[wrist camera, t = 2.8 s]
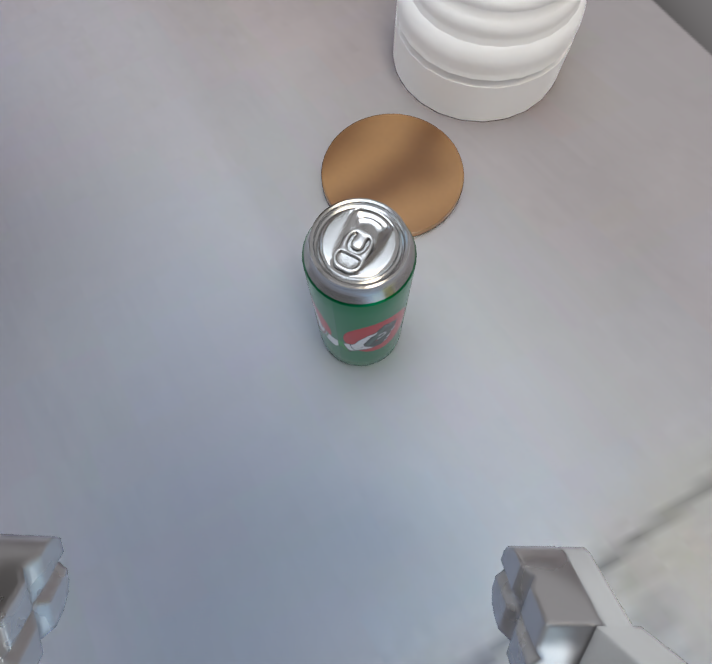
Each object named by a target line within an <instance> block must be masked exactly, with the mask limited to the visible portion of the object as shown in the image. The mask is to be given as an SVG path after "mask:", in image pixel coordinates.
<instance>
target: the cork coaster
mask: <svg viewBox="0 0 712 664" xmlns="http://www.w3.org/2000/svg"><path fill="white" fill-rule="evenodd" d="M321 174H322V185H323V191H324V194H325V197H326V199H327V201H328V203H329V205H330V206H331V205H333V204H335V203H337V202H340V201H343V200H346V199H351V198H368V199H372V200H376V201H379V202H382V203H384V204H385V205H387V206H389V207H390V208H392V209H393V210H394V211H395V212H396V213H397V214H398V215H399V216H400V217H401V218H402V220H403V221H404V223H405V224H406V226H407V227H408V229H409V230H410V232H411V234H412V236H413V237H414V236H417V235H420V234H423V233H425V232H427V231H429V230H431V229H433V228H434V227H436V226H437V225H439V224H440V223H441V222H443V221H444V220H445V219H446V218H447V217H448V216H449V215H450V213H451V212H452V210H453V209H454V208H455V206H456V204H457V202H458V200H459V197H460V194H461V191H462V187H463V181H464V171H463V164H462V161H461V157H460V155H459V153H458V151H457V149H456V147H455V146H454V144H453V143H452V141H451V140H450V139H449V138H448V137H447V136H446V135H445V134H444V133H443V132H442V131H441V130H439V129H438V128H437V127H435V126H434V125H432V124H430V123H428V122H426V121H424V120H422V119H419V118H416V117H412V116H408V115H402V114H382V115H375V116H371V117H368V118H365V119H362V120H360V121H357V122H355V123H354V124H352V125H350V126H349V127H347V128H346V129H344V130H343V131H342V132H341V133H340V134H339V135H338V136H337V137H336V138H335V139H334V140H333V142H332V143H331V145H330V146H329V148H328V150H327V152H326V154H325V156H324V160H323V164H322V171H321Z"/></svg>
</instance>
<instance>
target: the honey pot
mask: <svg viewBox="0 0 712 664" xmlns="http://www.w3.org/2000/svg"><path fill="white" fill-rule="evenodd" d="M586 3H587V2H586V0H397V7H396V19H395V33H394V48H393V58H394V63H395V67H396V71H397V74H398V76H399V77H400V79H401V81H402V82H403V84H404V86H405V87H406V89H407V90H408V91H409V92H410V93H411V94H412V95H413V96H414V97H415V98H417V99H418V100H419V101H420V102H421V103H422V104H424V105H426V106H428V107H429V108H431V109H433V110H435V111H436V112H438V113H441V114H444V115H447V116H450V117H454V118H457V119H460V120H471V121H483V122H484V121H491V120H499V119H506V118H509V117H511V116H514V115H516V114H519V113H522V112H524V111H526V110H528V109H529V108H530V107H532V106H533V105H535V104H536V103H537V102H539V101H540V100H542V98H543V97H544V96H545V95H546V93H547V92H548V91H549V89H550V88H551V87H552V85H553V84H554V81H555V79H556V77H557V75H558V73H559V71H560V68H561V66H562V64H563V62H564V60H565V58H566V56H567V53H568V51H569V49H570V46H571V43H572V42H573V40H574V37H575V34H576V32H577V31H578V29H579V27H580V24H581V21H582V18H583V15H584V12H585V7H586Z"/></svg>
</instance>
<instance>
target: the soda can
mask: <svg viewBox="0 0 712 664" xmlns="http://www.w3.org/2000/svg"><path fill="white" fill-rule="evenodd" d="M416 257H417V253H416V245H415V242H414V238H413V236H412V234H411V232H410V230H409V229H408V227H407V226H406V224H405V223H404V221H403V220H402V218H401V217H400V216H399V215H398V214H397V213H396V212H395V211H394V210H393V209H392V208H390V207H389V206H387V205H385V204H384V203H382V202H379V201H376V200H372V199H368V198H351V199H346V200H343V201H340V202H337V203H335V204H333V205H331V206H330V207H328V208H327V209H326V210H324V211H323V212H322V213H321V214H320V215H319V217H318V218H317V219H316V220H315V222H314V224H313V226H312V227H311V229H310V230H309V232H308V234H307V236H306V238H305V241H304V244H303V250H302V262H303V267H304V271H305V275H306V279H307V283H308V286H309V290H310V294H311V298H312V302H313V306H314V309H315V313H316V317H317V321H318V325H319V329H320V332H321V336H322V339H323V342H324V344H325V346H326V348H327V349H328V350H329V352H330V353H331V354H332V355H333V356H334V357H336V358H337V359H339V360H340V361H342V362H345V363H347V364H351V365H357V366H364V365H370V364H374V363H376V362H379V361H380V360H382V359H384V358H385V357H386V356H388V355H389V354H390V353H391V352H392V350H393V349H394V347H395V346H396V344H397V342H398V339H399V336H400V331H401V327H402V323H403V318H404V314H405V309H406V305H407V301H408V296H409V292H410V287H411V283H412V279H413V274H414V270H415V265H416Z"/></svg>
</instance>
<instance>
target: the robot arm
mask: <svg viewBox="0 0 712 664" xmlns="http://www.w3.org/2000/svg"><path fill="white" fill-rule="evenodd" d="M63 552H64V550H63V546H62V542H61V538H60V537H55V536H34V535H13V534H0V664H38V663H39V661H40V659H41V657H42V655H43V649H42V645H41V640H40V639H42V638H43V637H44V636H45V635H47V634H48V633H49V632H50V631H52V630H53V629H54V628H55V627H56V626H57V624H58V622H59V619H60V617H61V615H62V613H63V611H64V607H65V603H66V600H67V596H68V592H69V575H68V570H67V568H66V567H64V566H63V565H62V564H61V563H60V562H58V561H59V559H60V557H61V556H62V554H63ZM501 562H502V564H503V567H504V570H503V571H501V572H500V573H499V574H497V575H496V576H495V580H494V583H493V587H492V606H493V611H494V616H495V619H496V623H497V626H498V629H499V630H500V631H501V632H502V633H503V634H504V635H505V636H506V637H507V638H508V639H509V640H510V644H509V647H508V650H507V656H508V659H509V662H510V664H688V663H686V662H685V661H684V660H683V659H681V658H680V657H679V656H678V655H676V654H675V653H674V652H673V651H671V650H670V649H669V648H668V647H666V646H665V645H664V644H662V643H661V642H660V641H659V640H657V639H656V638H655V637H654V636H652V635H651V634H650V633H649V632H647V631H646V630H645V629H644V628H642V627H641V626H633V625H632V623H631V621H630V620H629V618H628V616H627V615H626V613H625V611H624V610H623V608H622V606H621V605H620V603H619V601H618V599H617V598H616V596H615V594H614V593H613V591H612V589H611V588H610V586H609V584H608V582H607V581H606V579H605V577H604V576H603V574H602V572H601V571H600V569H599V567H598V566H597V564H596V562H595V560H594V559H593V557H592V555H591V554H590V552H589V551H588V550H586V549H585V548H584V547H555V546H508V547H507V548H506V549H505V550H504V552H503V555H502V558H501Z"/></svg>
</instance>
